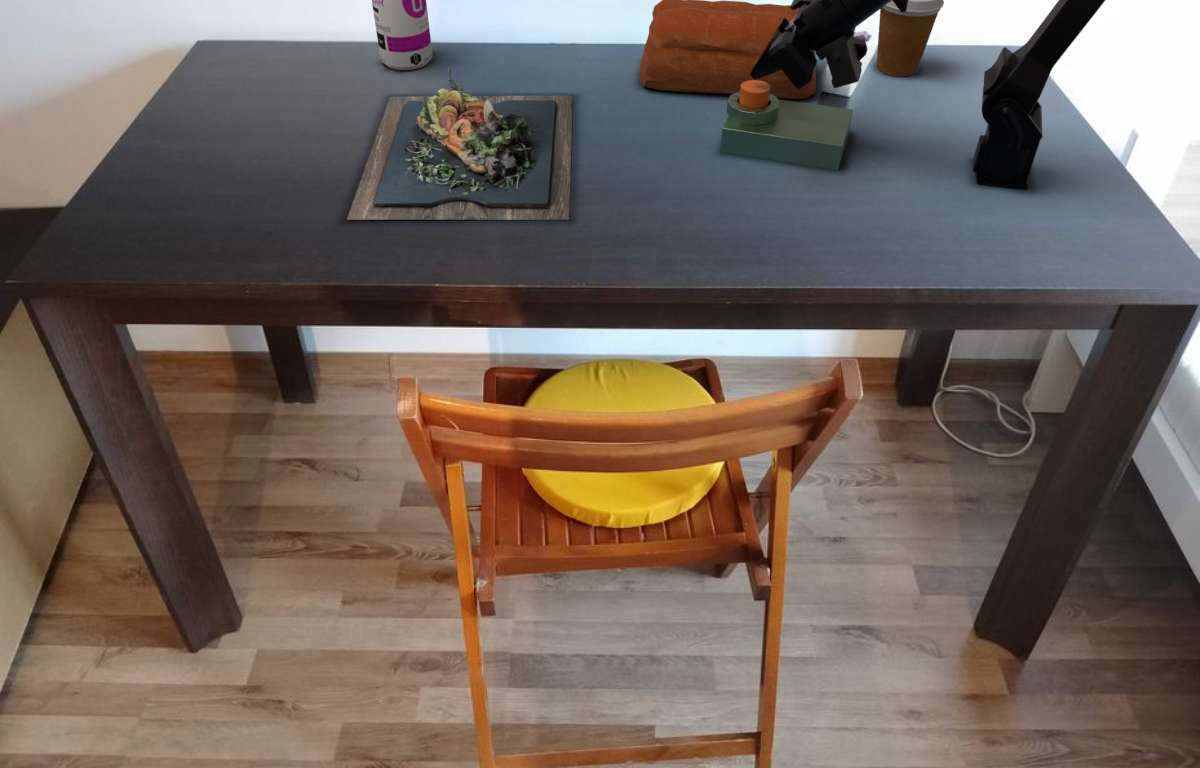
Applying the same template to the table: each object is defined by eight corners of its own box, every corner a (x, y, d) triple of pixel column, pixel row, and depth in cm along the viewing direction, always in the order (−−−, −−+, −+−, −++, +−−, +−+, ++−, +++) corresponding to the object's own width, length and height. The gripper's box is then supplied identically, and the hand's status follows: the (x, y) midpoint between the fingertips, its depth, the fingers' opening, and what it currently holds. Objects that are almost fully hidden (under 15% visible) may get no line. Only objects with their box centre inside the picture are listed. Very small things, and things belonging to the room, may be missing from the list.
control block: (848, 133, 138) (855, 97, 134) (838, 171, 130) (844, 133, 126) (733, 117, 142) (737, 81, 138) (716, 152, 134) (720, 115, 130)
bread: (815, 105, 144) (826, 35, 137) (635, 93, 147) (637, 23, 140) (814, 62, 156) (824, -5, 149) (647, 52, 159) (649, -15, 152)
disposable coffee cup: (855, 60, 156) (868, -17, 148) (907, 53, 159) (924, -23, 151) (885, 84, 150) (901, 6, 142) (939, 76, 152) (958, -2, 144)
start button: (770, 99, 134) (772, 82, 133) (765, 112, 132) (767, 94, 130) (742, 95, 135) (743, 78, 134) (736, 108, 133) (737, 90, 131)
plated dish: (385, 96, 147) (379, 49, 142) (573, 97, 147) (572, 50, 142) (346, 225, 121) (336, 172, 116) (574, 225, 121) (574, 172, 117)
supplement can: (443, 57, 157) (433, -39, 147) (409, 76, 152) (396, -23, 142) (404, 46, 160) (391, -49, 151) (370, 64, 155) (354, -33, 145)
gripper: (879, 83, 117) (776, 153, 127) (894, 26, 130) (800, 93, 140) (823, 9, 114) (722, 87, 123) (844, -42, 127) (751, 32, 137)
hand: (752, 76), depth 131 cm, fingers closed
